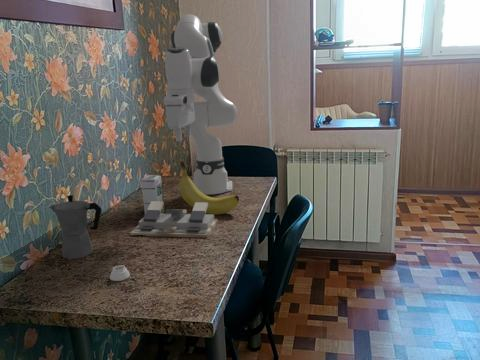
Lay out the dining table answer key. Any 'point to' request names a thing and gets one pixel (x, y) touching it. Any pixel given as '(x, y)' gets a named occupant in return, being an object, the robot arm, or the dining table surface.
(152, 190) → the syrup box
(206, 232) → the switch board
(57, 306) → the dining table surface
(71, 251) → the coffeepot
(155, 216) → the block
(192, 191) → the banana
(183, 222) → the switch housing
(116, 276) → the white cup
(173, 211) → the rocker
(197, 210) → the rocker
